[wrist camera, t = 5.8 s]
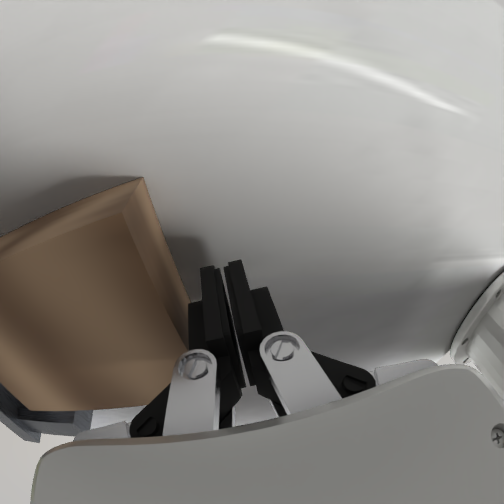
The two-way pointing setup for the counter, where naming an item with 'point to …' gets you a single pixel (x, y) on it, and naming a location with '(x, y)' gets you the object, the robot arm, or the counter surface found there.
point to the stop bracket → (40, 419)
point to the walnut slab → (91, 305)
